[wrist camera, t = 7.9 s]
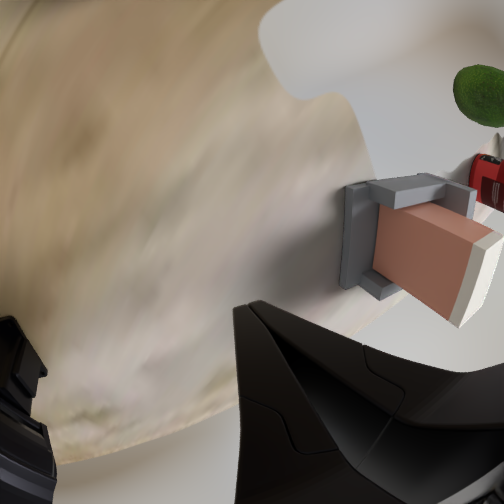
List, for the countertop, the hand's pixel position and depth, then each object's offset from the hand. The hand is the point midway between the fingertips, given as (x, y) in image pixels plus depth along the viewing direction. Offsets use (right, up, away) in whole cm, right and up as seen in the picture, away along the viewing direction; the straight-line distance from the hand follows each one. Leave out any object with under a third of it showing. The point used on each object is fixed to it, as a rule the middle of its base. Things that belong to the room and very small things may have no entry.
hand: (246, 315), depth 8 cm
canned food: (+36, +14, +25) cm, 46 cm away
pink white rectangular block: (+14, +4, +18) cm, 23 cm away
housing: (+14, +5, +19) cm, 24 cm away
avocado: (+25, +22, +16) cm, 37 cm away
